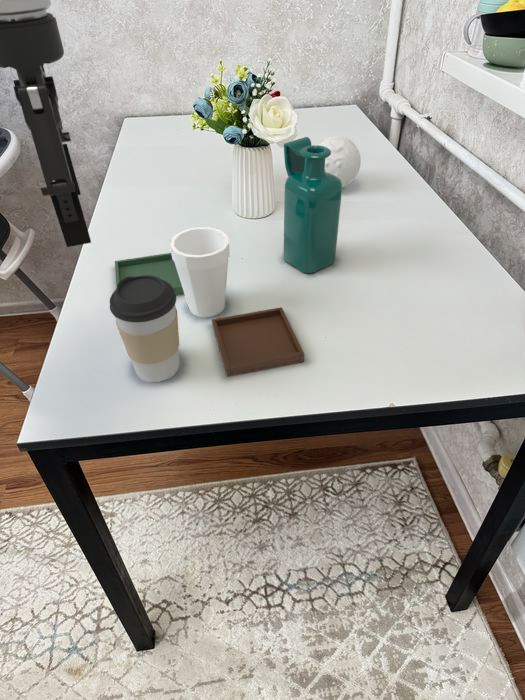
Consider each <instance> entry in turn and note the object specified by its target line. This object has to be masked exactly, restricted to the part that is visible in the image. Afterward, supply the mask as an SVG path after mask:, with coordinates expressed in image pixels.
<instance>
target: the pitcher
mask: <svg viewBox="0 0 525 700" xmlns="http://www.w3.org/2000/svg"><path fill="white" fill-rule="evenodd" d="M330 155H331V150H330V149H328V148H327V147H324V146H319V145H318V144H316V145H313V144H312V141H311V138H310V137H308V136H304V137H301V138H298V139H293V140H291V141H287V142H285V143H283V157H284V166H285V171H286V174H287V178H286V180H285V182H284V203H283V204H284V209H283V259H284V261H285V262H286V263H288V264H289V265H291V266H293V267H294V268H295V269H297V270H298V271H301V272H302V273H304V274H313V273H315V272H318V271H320V270H322V269H325V268H326V267H328V266H330V265H333V264H334V263H335V261H336V255H337V245H338V244H337V243H338V236H339V235H338V234H339V226H340V225H339V224H340V217H341V216H340V214H341V204H342V194H343V188H342V182H341V180H340V179H339V178H338V177H336V176H334V175H332V174H330V173H328V172H326V171H325V158H327V157H329V156H330Z"/></svg>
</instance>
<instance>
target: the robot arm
mask: <svg viewBox="0 0 525 700" xmlns="http://www.w3.org/2000/svg"><path fill="white" fill-rule="evenodd" d="M51 5H52V1H51V0H0V68H2V69H6V68H7V69H8V68H11V69H14V70H16V74H17V78H18V79H13V92H14V95H15V98H16V100H17V102H18V104H19V106H20V108H21V111H22V115H23V118H24V122H25V124H26V126H27V129H28V130H29V131H30V133H31V134H30V135H31V137H32V140H33V144H34V147H35V151H36V155H37V158H38V161H39V165H40V168H41V172H42V175H43V180H44V182H45V187H40V192H41V194H42V196H43V197H46V196H50V199H51V202H52V206H53V209H54V212H55V214H56V217H57V220H58V224H59V228H60V230H61V233H62V236H63V240H64V243H65V246H66V247H67V248H70V247H76V246H80V245H86V244H91V243H92V240H91V236H90V233H89V230H88V226H87V222H86V219H85V214H84V211H83V208H82V205H81V202H80V198H79V196H80V195H81V190H80V185H79V183H78V179H77V175H76V171H75V168H74V165H73V161H72V157H71V153H70V151H69V146H68V142H72V139H71V136H70V132H69V131H63V130H64V127H63V122H62V118H61V115H60V110H59V107H60V105H59V103H58V102H59V97H58V94H57V93H58V92H57V89H56V85H55V80H54V77H53V76H47V75H46V71H45V68H44V65H45V64H52V63H56V62H58V61H59V60H61V59H62V58H63V57H64V54H65V49H64V46H63V45H64V44H63V42H62V38H61V35H60V34H61V33H60V30H59V26H58V25H59V24H58V22H57V18H56V17H55V16H54V15H53V14H52V13H50V12H47V9H50V7H51Z"/></svg>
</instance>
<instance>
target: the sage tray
mask: <svg viewBox="0 0 525 700" xmlns="http://www.w3.org/2000/svg"><path fill="white" fill-rule="evenodd" d="M114 269H115V270H114V271H115V284H116V286H117V285H118V283H119V282H120V281H121V280H122V279H124V278H126V277H129V276H132V277H136V276H142V275H151V276H156V277H158V278H160V279H162V280H164V281H166V282H168V283H169V284H170V285H171V286H172V287H173V290H174V292H175V294H176V296H180V295H185V294H184V291H183V288H182V285H181V282H180V278H179V275H178V272H177V269H176V266H175V262H174V261H173V260H172V255H171V252H167V253H160V254H154V255H147V256H140V257H134V258H126V259H119V260H115V261H114Z"/></svg>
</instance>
